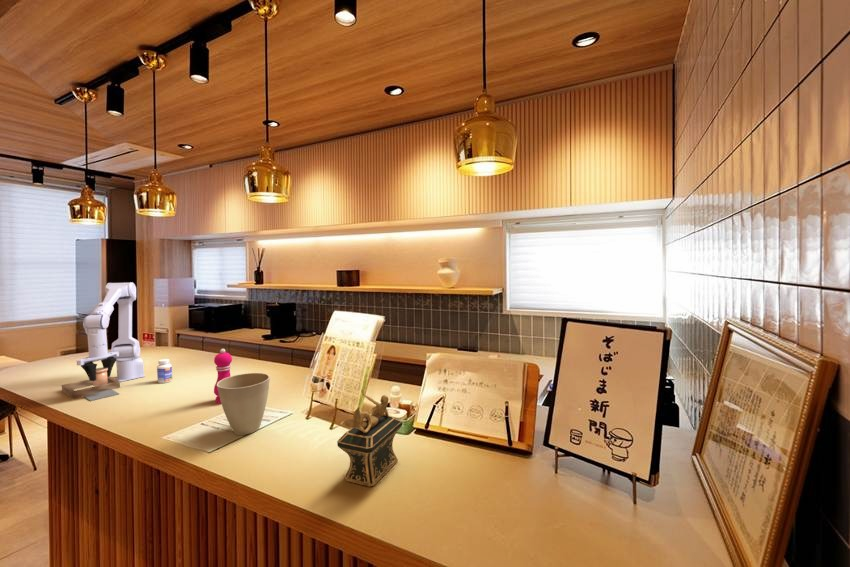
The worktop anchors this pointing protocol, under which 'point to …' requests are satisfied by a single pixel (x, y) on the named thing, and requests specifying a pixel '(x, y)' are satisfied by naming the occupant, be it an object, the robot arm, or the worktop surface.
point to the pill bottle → (164, 371)
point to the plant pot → (244, 400)
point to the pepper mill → (222, 369)
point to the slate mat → (101, 395)
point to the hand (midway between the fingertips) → (100, 378)
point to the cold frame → (78, 393)
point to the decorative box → (370, 443)
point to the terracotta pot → (101, 376)
